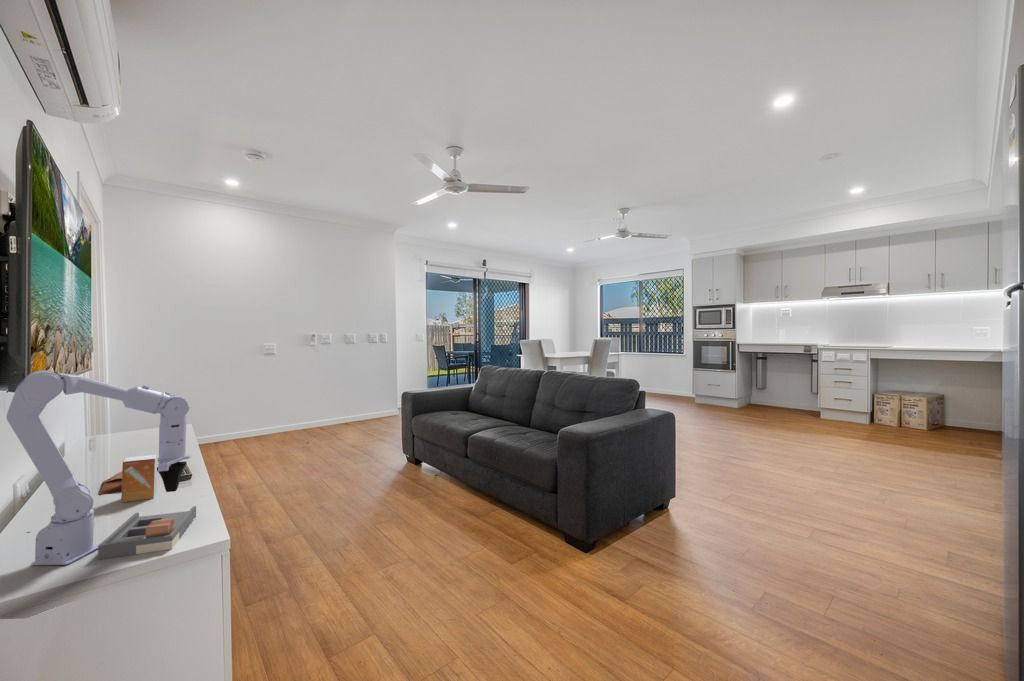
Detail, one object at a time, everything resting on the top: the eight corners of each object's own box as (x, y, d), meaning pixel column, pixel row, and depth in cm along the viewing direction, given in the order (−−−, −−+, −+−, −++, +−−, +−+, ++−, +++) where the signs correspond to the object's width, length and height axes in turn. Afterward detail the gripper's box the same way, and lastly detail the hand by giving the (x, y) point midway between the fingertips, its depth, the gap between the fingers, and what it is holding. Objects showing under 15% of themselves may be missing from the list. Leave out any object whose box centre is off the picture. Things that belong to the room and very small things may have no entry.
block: (168, 539, 107) (168, 524, 107) (145, 542, 105) (145, 527, 105) (174, 531, 111) (174, 518, 111) (152, 534, 109) (152, 520, 109)
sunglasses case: (100, 481, 155) (114, 464, 157) (123, 488, 159) (135, 471, 161) (97, 495, 141) (112, 476, 144) (122, 502, 145) (136, 483, 148)
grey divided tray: (172, 549, 106) (172, 535, 106) (97, 559, 100) (98, 545, 100) (196, 517, 125) (196, 506, 125) (135, 524, 120) (135, 512, 120)
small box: (120, 503, 135) (121, 461, 135) (124, 497, 140) (125, 457, 141) (154, 498, 140) (155, 458, 140) (157, 492, 145) (157, 453, 145)
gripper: (182, 445, 112) (181, 497, 112) (197, 434, 125) (196, 481, 125) (148, 447, 109) (147, 501, 109) (167, 436, 122) (166, 484, 122)
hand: (171, 490), depth 117 cm, fingers closed
